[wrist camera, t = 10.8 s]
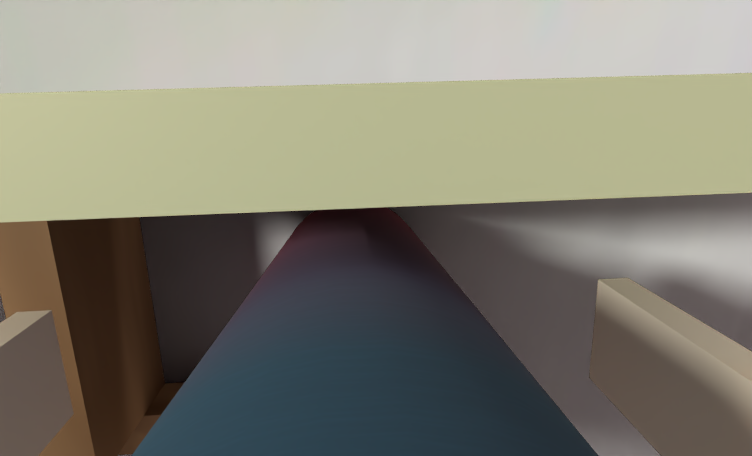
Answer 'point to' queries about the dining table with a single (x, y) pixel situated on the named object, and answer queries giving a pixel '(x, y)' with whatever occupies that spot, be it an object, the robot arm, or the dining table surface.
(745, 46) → the dining table surface
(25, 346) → the robot arm
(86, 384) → the bracket
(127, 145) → the wall board
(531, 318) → the dining table surface
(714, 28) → the dining table surface
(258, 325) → the cup
